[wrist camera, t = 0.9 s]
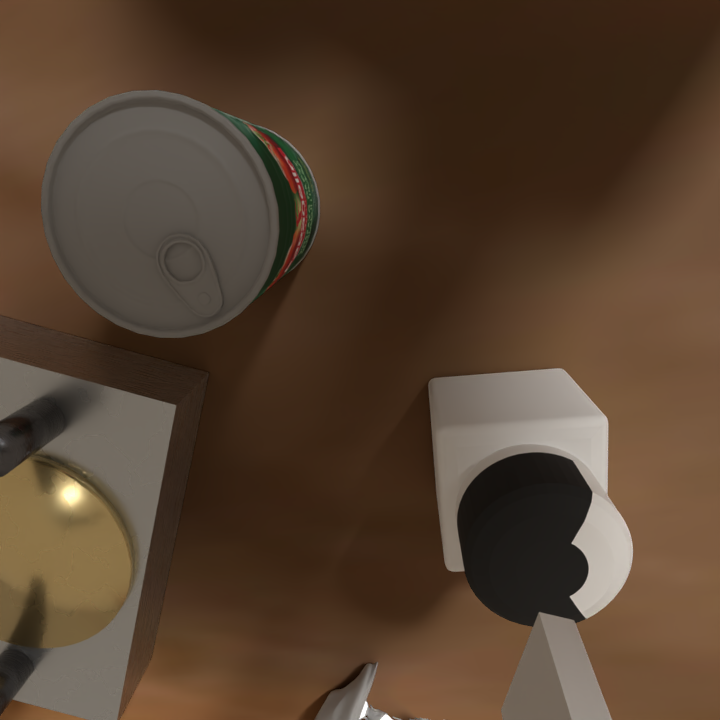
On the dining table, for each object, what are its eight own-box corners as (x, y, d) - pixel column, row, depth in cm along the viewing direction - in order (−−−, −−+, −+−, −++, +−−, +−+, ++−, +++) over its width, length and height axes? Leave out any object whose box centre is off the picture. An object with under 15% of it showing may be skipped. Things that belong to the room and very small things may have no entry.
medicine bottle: (436, 496, 34) (455, 657, 22) (427, 376, 32) (443, 485, 20) (565, 488, 33) (654, 650, 22) (564, 365, 31) (661, 472, 20)
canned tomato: (135, 170, 30) (-10, 162, 19) (273, 92, 28) (198, 37, 18) (215, 311, 31) (122, 375, 21) (348, 244, 30) (320, 277, 20)
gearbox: (-17, 310, 32) (-169, 356, 24) (209, 372, 32) (140, 440, 24) (-41, 607, 38) (-170, 731, 29) (151, 658, 38) (79, 797, 30)
